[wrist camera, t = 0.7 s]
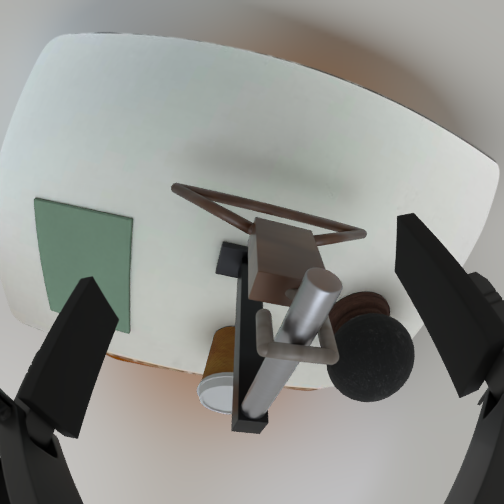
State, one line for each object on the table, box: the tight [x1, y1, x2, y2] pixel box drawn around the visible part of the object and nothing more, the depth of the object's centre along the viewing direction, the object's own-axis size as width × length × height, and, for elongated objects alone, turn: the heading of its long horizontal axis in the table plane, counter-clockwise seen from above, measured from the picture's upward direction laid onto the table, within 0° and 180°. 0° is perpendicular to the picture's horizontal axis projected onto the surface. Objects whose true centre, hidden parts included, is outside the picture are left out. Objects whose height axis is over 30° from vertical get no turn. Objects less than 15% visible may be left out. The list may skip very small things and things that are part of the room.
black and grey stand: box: [216, 242, 343, 434], centre depth 28 cm, size 8×17×23 cm, turn 165°
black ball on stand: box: [327, 292, 414, 402], centre depth 41 cm, size 13×13×15 cm
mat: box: [34, 198, 133, 334], centre depth 41 cm, size 22×16×1 cm
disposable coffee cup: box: [197, 327, 235, 414], centre depth 44 cm, size 10×10×12 cm
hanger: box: [171, 183, 367, 365], centre depth 23 cm, size 21×2×18 cm, turn 75°
